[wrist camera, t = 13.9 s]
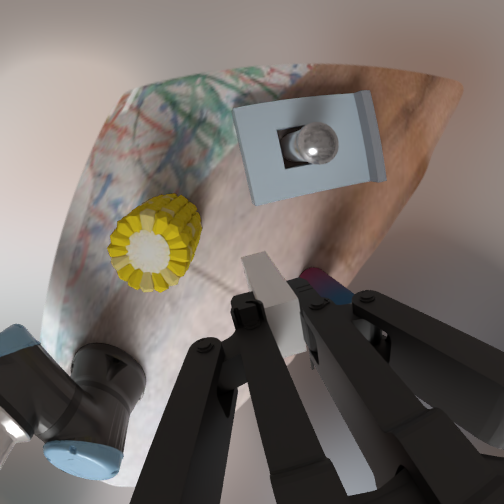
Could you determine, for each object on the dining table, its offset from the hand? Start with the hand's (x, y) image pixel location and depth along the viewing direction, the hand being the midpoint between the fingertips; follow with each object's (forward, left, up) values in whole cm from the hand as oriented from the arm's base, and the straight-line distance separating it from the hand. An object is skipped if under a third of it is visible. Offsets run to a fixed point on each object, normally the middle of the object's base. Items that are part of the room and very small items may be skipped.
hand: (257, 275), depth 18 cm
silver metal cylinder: (+12, +7, -26) cm, 30 cm away
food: (-9, 0, -27) cm, 28 cm away
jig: (+14, +7, -26) cm, 31 cm away
